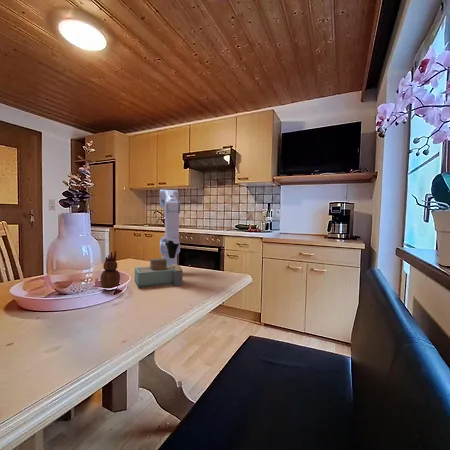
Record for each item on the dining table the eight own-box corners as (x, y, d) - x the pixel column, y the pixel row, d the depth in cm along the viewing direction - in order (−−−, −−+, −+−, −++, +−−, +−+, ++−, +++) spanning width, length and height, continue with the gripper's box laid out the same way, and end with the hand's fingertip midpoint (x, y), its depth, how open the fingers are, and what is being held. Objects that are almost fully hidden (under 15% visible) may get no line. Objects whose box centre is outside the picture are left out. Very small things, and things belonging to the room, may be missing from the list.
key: (172, 268, 111) (172, 264, 111) (177, 267, 112) (177, 264, 112) (176, 270, 106) (176, 267, 106) (181, 270, 107) (181, 266, 107)
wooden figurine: (122, 287, 102) (122, 250, 102) (114, 292, 97) (114, 252, 96) (106, 286, 103) (106, 249, 102) (97, 291, 97) (97, 251, 97)
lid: (138, 270, 111) (138, 258, 111) (173, 267, 118) (173, 256, 118) (141, 274, 104) (141, 262, 104) (178, 271, 111) (178, 259, 111)
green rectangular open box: (134, 281, 112) (134, 267, 112) (175, 277, 120) (175, 264, 120) (139, 290, 100) (139, 274, 99) (184, 285, 108) (184, 270, 107)
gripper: (159, 227, 120) (159, 256, 121) (167, 228, 107) (166, 261, 108) (174, 226, 123) (174, 255, 124) (183, 228, 110) (183, 260, 111)
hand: (171, 258), depth 116 cm, fingers closed
